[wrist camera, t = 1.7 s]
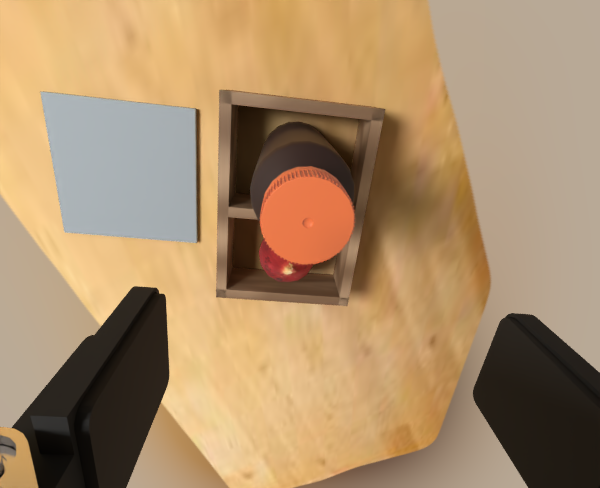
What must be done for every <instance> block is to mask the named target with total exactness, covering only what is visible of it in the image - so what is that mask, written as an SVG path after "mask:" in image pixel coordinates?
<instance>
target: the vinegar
mask: <svg viewBox="0 0 600 488" xmlns="http://www.w3.org/2000/svg"><path fill="white" fill-rule="evenodd" d="M250 194H251V205H252V208H253V210H254V212H255V214H256V217H257V219H258V221H259V222H260V227H261V231H262V234H263V238H265V241H267V245H269V248H270V247H271V248H272V250H271V251H273V250H274V253H276V254H277V256H278V255H279V256H280V258H282V257H283V258H284V260H285V259H286V260H287V262H288V261H290V262H291V263H292V262H295V264H296V263H298V264H302V265H303V264H306V265H307V264H310V265H311V264H314V265H315V264H316V263H318V264H319V262H322V263H323V261H326V260H328V259H329V260H330V258H331V257H332V258H333V256H334V255H336V254H337V253H340V251H341V250H342V248H343V247H344V248H345V245H346V244H347V242H348V241H350V240H349V239H350V238H351V234H353V233H352V230H354V229H353V228H354V227H355V225H354V223H355V220H354V219H356V218H355V216H354V215H355V213H354V211H355V210H354V208H353V207H354V206H353V202H354V181H353V178H352V175H351V172H350V168H349V167H348V166H347V164H346V163H345V161H344V160H343V159H342V157H341V156H340V155H339V154H338V152H337V151H336V150H335V149H334V148H333V147H332V146H331V145H330V143H329V142H328V141H327V140H326V139H325V138H324V137H323V136H322V134H321V133H320V132H319V131H318V130H316V129H315V128H313V127H312V126H311V125H309V124H305V123H302V122H288V123H285V124H283V125H280V126H278V127H277V128H276V129H275V130H273V131H272V132H271V133H270V134H269V136H268V138H267V139H266V141H265V143H264V146H263V148H262V151H261V154H260V157H259V159H258V162H257V165H256V168H255V171H254V174H253V178H252V182H251V187H250Z"/></svg>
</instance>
